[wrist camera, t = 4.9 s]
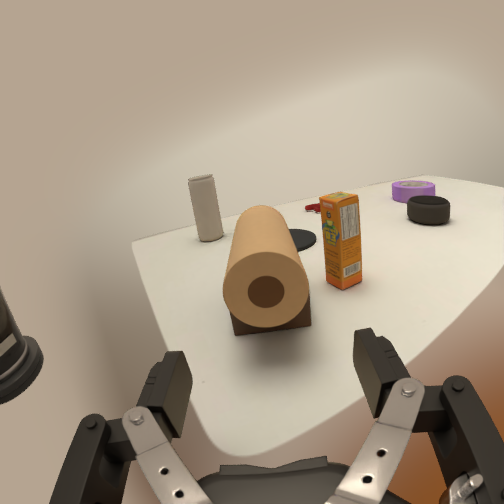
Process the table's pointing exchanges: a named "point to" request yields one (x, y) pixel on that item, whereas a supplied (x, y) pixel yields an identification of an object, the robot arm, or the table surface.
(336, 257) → the supplement box
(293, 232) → the mat
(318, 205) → the scissors
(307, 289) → the paper roll
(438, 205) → the smart speaker
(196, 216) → the beverage can
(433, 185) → the tape roll
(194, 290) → the table surface
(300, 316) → the riser block
